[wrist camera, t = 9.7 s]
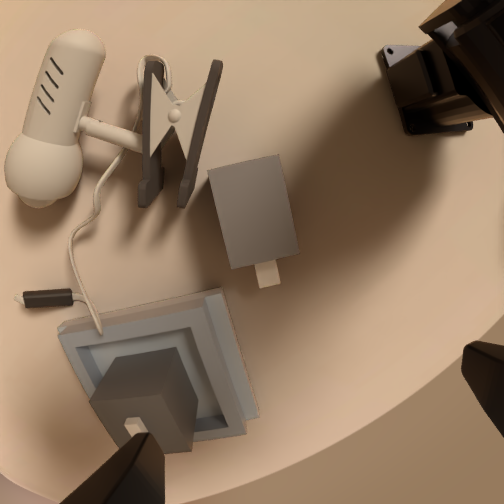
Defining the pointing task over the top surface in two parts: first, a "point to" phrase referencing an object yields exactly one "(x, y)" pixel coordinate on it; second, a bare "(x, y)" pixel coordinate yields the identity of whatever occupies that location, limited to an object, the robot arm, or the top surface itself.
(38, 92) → the clip-on lamp
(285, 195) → the cable plug
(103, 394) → the brick
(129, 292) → the top surface
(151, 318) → the blue gray tray
